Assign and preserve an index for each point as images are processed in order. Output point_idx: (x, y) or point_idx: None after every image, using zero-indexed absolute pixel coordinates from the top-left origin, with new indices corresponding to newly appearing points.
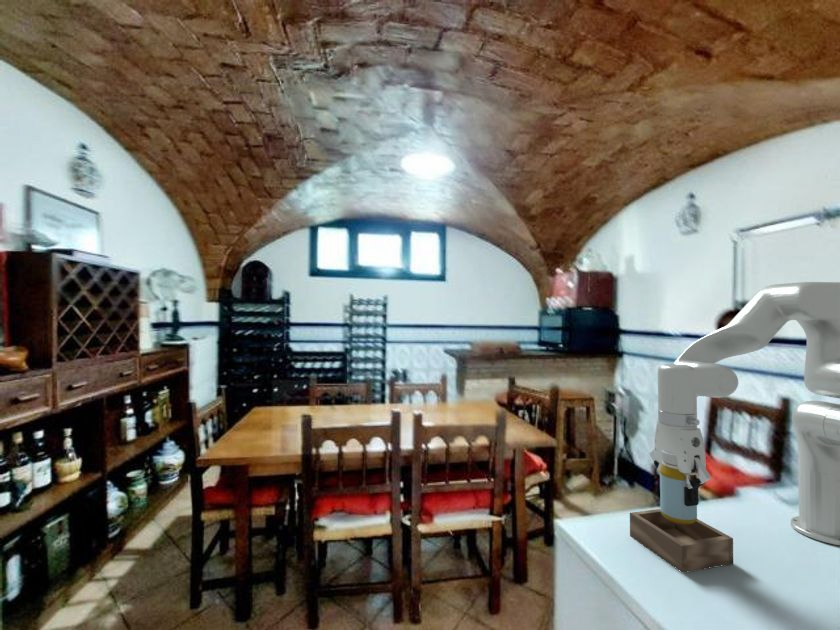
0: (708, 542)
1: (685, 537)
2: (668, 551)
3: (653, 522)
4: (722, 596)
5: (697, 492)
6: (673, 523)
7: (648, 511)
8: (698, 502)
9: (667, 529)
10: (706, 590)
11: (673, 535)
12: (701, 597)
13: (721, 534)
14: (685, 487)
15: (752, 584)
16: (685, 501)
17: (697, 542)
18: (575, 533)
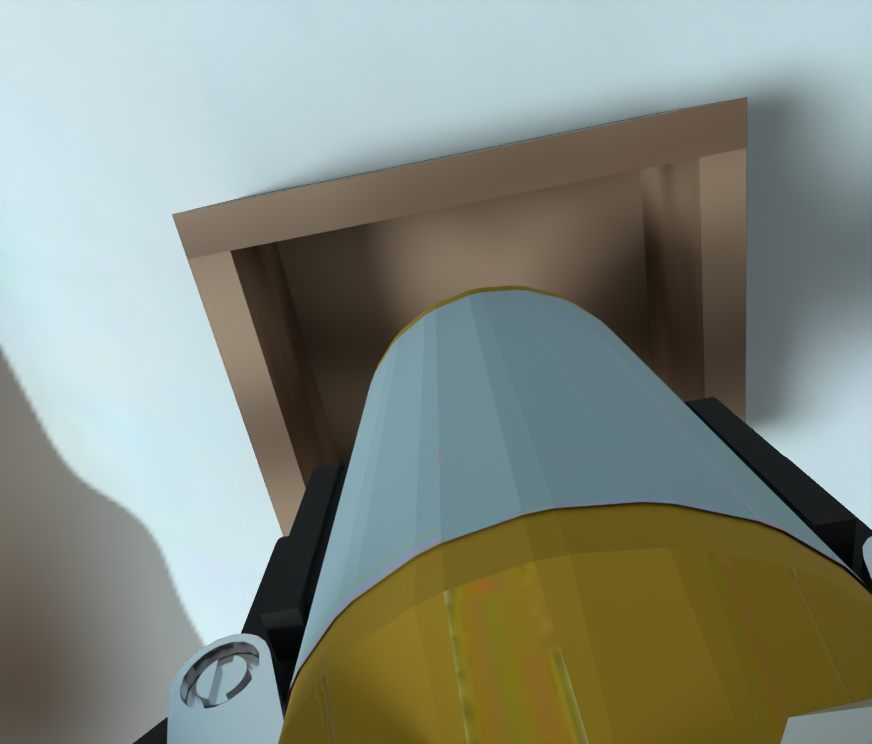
0: (745, 335)
1: (397, 241)
2: None
3: (307, 415)
4: (865, 381)
5: (858, 529)
6: (267, 249)
7: (277, 474)
8: (719, 401)
9: (293, 294)
10: (811, 421)
11: (372, 303)
12: (842, 470)
13: (675, 151)
14: None
15: (842, 157)
16: None
17: (732, 411)
18: None
